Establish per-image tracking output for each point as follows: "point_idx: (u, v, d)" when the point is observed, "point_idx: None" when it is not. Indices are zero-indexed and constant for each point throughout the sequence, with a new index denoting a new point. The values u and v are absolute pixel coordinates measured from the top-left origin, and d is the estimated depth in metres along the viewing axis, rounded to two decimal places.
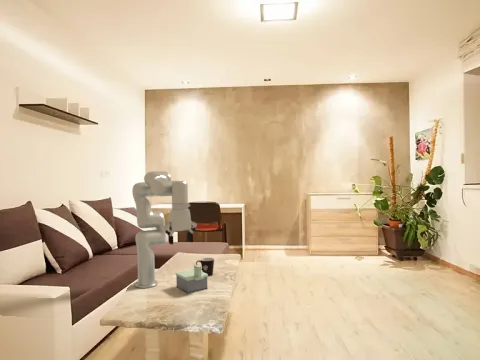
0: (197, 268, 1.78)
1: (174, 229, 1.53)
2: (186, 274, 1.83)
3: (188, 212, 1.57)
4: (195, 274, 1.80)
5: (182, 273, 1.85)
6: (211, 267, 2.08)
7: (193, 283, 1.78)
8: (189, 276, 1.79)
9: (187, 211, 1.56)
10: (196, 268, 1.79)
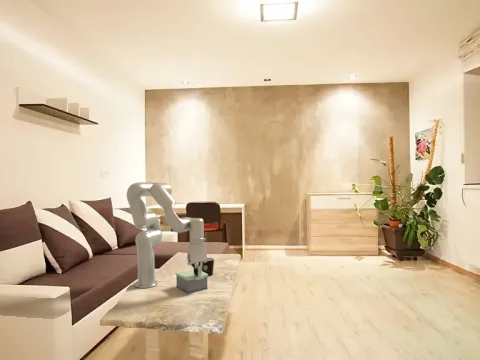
0: None
1: (192, 261, 1.76)
2: (186, 274, 1.83)
3: (204, 245, 1.80)
4: None
5: (182, 273, 1.85)
6: (211, 267, 2.08)
7: (193, 283, 1.78)
8: (189, 276, 1.79)
9: (203, 245, 1.79)
10: None
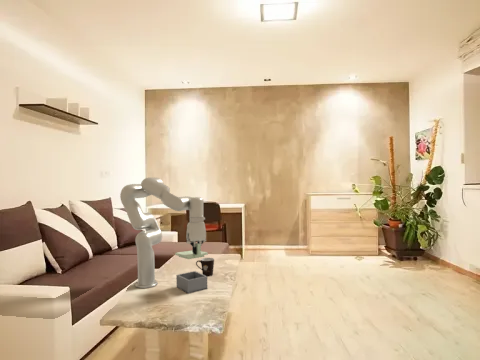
0: (197, 245, 1.78)
1: (191, 239, 1.76)
2: (186, 253, 1.83)
3: (203, 225, 1.80)
4: None
5: (182, 253, 1.85)
6: (211, 267, 2.08)
7: (193, 283, 1.78)
8: (189, 254, 1.79)
9: (203, 224, 1.79)
10: (196, 246, 1.78)
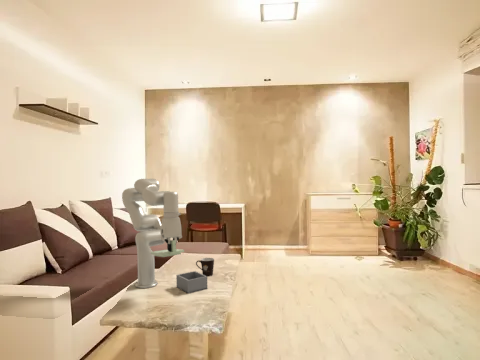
0: (171, 242, 1.68)
1: (165, 236, 1.67)
2: (161, 251, 1.73)
3: (178, 220, 1.71)
4: None
5: (157, 251, 1.75)
6: (211, 267, 2.08)
7: (193, 283, 1.78)
8: (164, 252, 1.69)
9: (177, 219, 1.70)
10: None
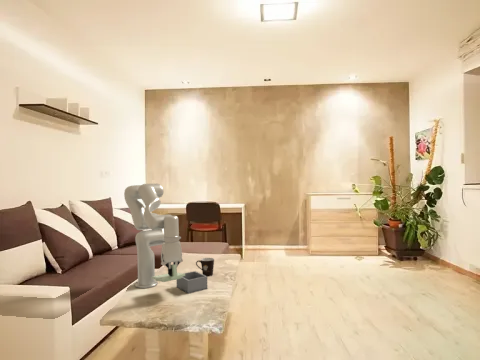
0: (172, 266, 1.68)
1: (166, 261, 1.66)
2: (162, 276, 1.73)
3: (179, 244, 1.71)
4: None
5: (158, 276, 1.75)
6: (211, 267, 2.08)
7: (193, 283, 1.78)
8: (165, 276, 1.69)
9: (178, 243, 1.70)
10: (171, 267, 1.69)
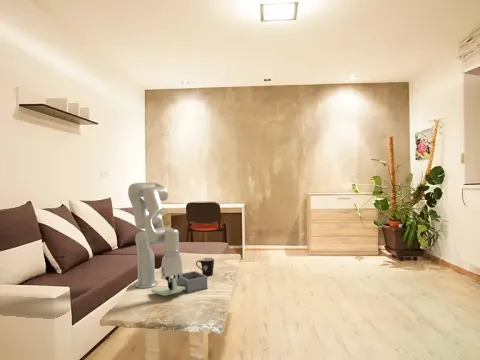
0: (172, 280, 1.68)
1: (166, 275, 1.67)
2: (162, 289, 1.73)
3: (179, 258, 1.71)
4: None
5: (158, 289, 1.75)
6: (211, 267, 2.08)
7: (193, 283, 1.78)
8: (165, 290, 1.69)
9: (178, 257, 1.70)
10: (171, 280, 1.69)
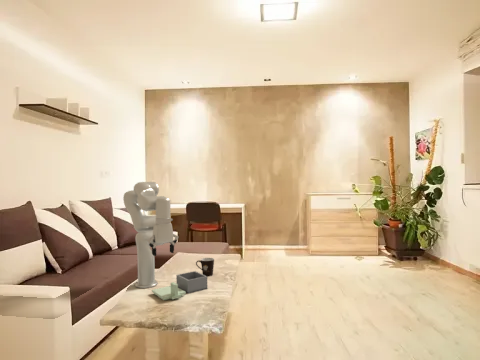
0: (173, 286, 1.67)
1: (157, 242, 1.67)
2: (162, 292, 1.72)
3: (170, 226, 1.71)
4: (171, 292, 1.69)
5: (159, 290, 1.75)
6: (211, 267, 2.08)
7: (193, 283, 1.78)
8: (165, 294, 1.69)
9: (169, 225, 1.71)
10: (173, 286, 1.68)
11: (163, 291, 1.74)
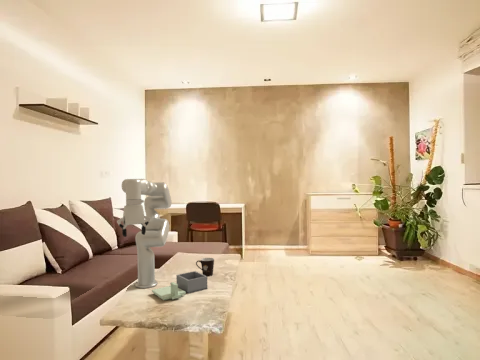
0: (173, 286, 1.67)
1: (127, 223, 1.68)
2: (162, 292, 1.72)
3: (141, 207, 1.72)
4: (171, 292, 1.69)
5: (159, 290, 1.75)
6: (211, 267, 2.08)
7: (193, 283, 1.78)
8: (165, 294, 1.69)
9: (140, 206, 1.72)
10: (173, 286, 1.68)
11: (163, 291, 1.74)
